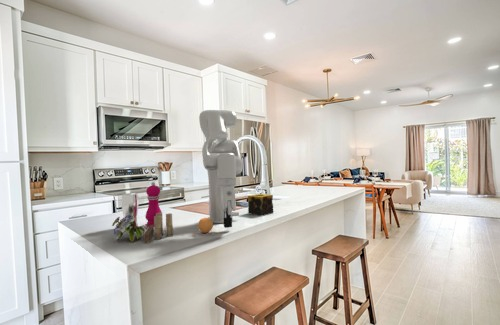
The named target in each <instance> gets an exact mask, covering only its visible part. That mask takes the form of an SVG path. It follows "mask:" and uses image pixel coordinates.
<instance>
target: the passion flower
mask: <svg viewBox="0 0 500 325" xmlns="http://www.w3.org/2000/svg"><path fill="white" fill-rule="evenodd" d="M133 216H134V212H133V213H132V214H131V215H128V216H126V217H125V218H124V217H122V218H121V217H120V216H118V217H116V218H115V220H114V221H113V222H112V225H111V226H112V227H113V226H115V227H114V229H113V234H114V236H115V237H116V238H115V241H116V242H118V241H119V240H120V238H121V237H123V234H124V233H126V234H128V239H129V241H130V242H131V243H135V238H137V240H139V239H140V238H141V237H142V235H143V232H146V231H147V229H148V227H147V223H145V224H142V225H138V226H137V227H135V218H133ZM132 218H133V219H132ZM115 224H116V225H115ZM131 226H133V227H132V228H131V229H130V227H131ZM144 226H145V228H143V227H144ZM145 230H146V231H145ZM135 233H136V234H135ZM135 236H136V237H135Z"/></svg>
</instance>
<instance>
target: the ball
mask: <svg viewBox="0 0 500 325" xmlns="http://www.w3.org/2000/svg"><path fill="white" fill-rule="evenodd" d="M197 223H198V224H197V229H198V230H199V231H200V232H201V233H204V234H206V233H209V232H211V231H212V229H213V227H214V223H212V221H211V220H210V219H209V218H208V217H203V218H201V219H200V220H199V221H198V222H197Z"/></svg>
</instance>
